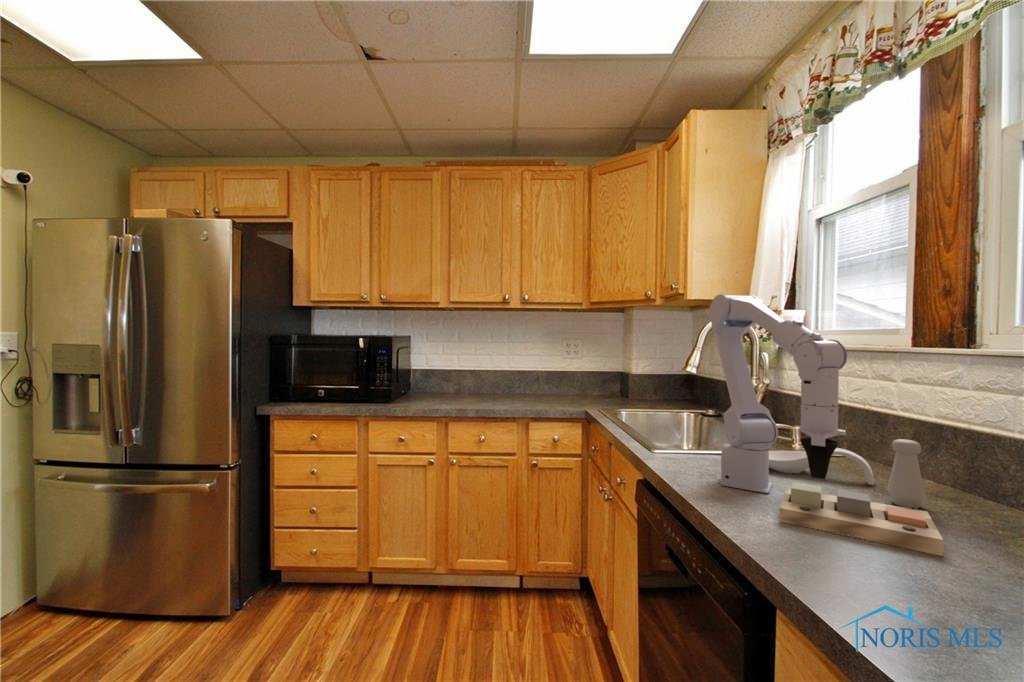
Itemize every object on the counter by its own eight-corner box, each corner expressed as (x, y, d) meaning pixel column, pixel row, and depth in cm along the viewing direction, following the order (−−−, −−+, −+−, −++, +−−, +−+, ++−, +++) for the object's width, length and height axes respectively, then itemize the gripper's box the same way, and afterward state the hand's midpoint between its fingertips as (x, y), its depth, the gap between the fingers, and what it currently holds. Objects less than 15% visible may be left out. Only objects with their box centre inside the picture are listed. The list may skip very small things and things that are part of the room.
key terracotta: (888, 531, 75) (888, 514, 75) (885, 522, 78) (885, 506, 78) (925, 539, 72) (925, 520, 72) (920, 529, 76) (921, 512, 76)
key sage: (790, 504, 83) (791, 488, 83) (792, 497, 87) (792, 481, 87) (820, 509, 80) (820, 493, 80) (821, 502, 84) (821, 486, 84)
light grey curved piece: (754, 471, 112) (754, 443, 112) (761, 461, 121) (761, 435, 121) (875, 491, 97) (875, 458, 97) (872, 478, 107) (872, 448, 107)
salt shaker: (933, 511, 85) (934, 444, 85) (899, 509, 86) (899, 442, 86) (912, 501, 91) (913, 437, 91) (880, 498, 92) (881, 436, 92)
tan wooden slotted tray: (779, 521, 80) (779, 506, 80) (786, 499, 91) (786, 486, 91) (943, 556, 67) (943, 538, 67) (927, 525, 79) (927, 510, 79)
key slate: (837, 512, 79) (837, 496, 79) (836, 505, 82) (837, 489, 82) (870, 519, 76) (870, 501, 76) (868, 510, 80) (868, 494, 80)
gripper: (847, 411, 74) (846, 492, 74) (844, 402, 86) (843, 471, 86) (797, 407, 78) (796, 484, 78) (801, 399, 90) (800, 465, 90)
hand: (818, 477), depth 82 cm, fingers closed
